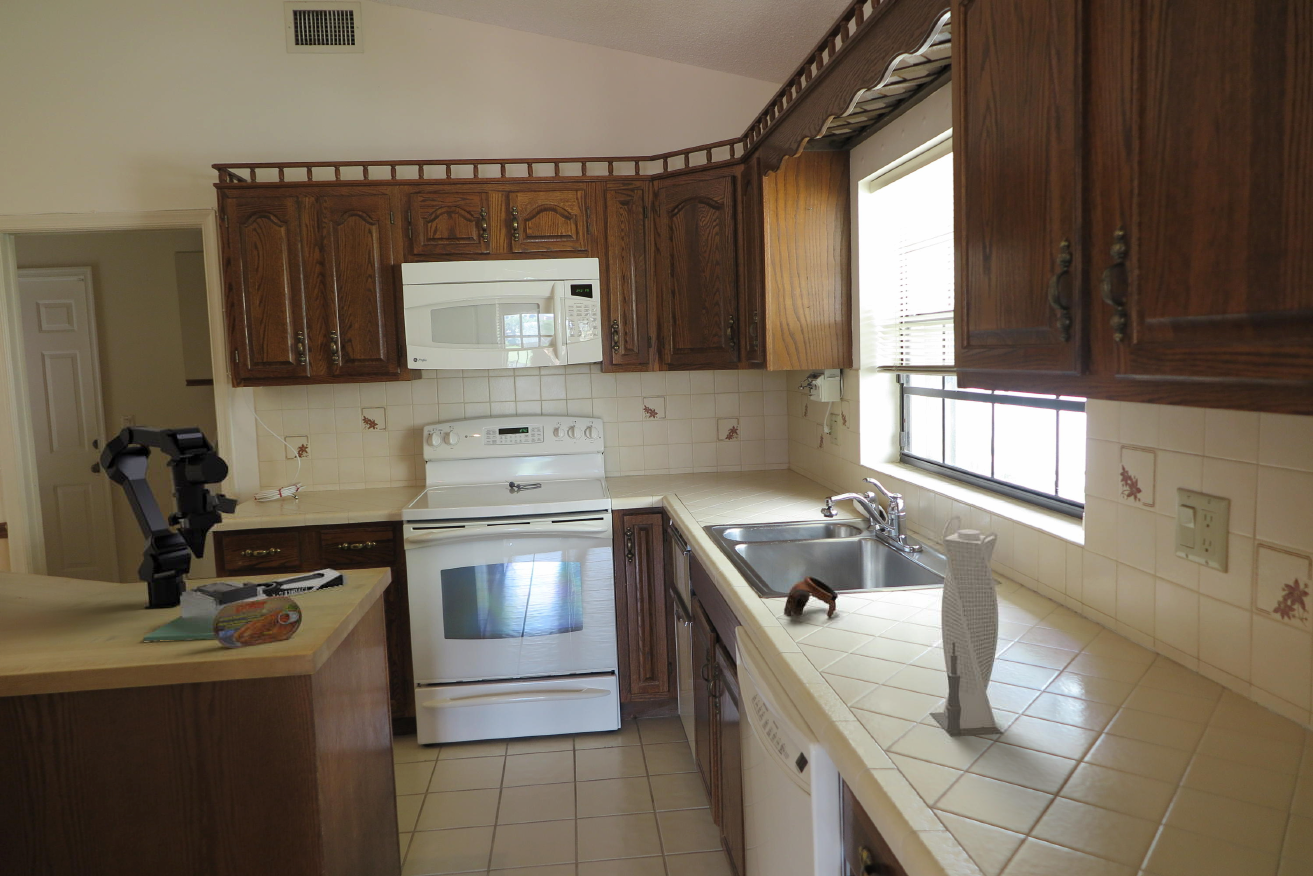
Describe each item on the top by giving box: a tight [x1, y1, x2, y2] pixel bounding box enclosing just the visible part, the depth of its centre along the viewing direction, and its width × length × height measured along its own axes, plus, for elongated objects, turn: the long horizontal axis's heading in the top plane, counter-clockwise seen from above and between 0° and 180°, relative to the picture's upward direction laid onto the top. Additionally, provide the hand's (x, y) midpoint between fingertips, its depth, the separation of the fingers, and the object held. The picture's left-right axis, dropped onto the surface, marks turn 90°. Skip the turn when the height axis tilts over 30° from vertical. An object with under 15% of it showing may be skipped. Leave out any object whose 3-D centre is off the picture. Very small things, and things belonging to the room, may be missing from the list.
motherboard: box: [143, 615, 217, 642], centre depth 167 cm, size 20×20×1 cm
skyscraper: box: [929, 515, 1004, 737], centre depth 110 cm, size 8×8×28 cm
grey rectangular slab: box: [196, 582, 236, 596], centre depth 167 cm, size 12×4×1 cm, turn 53°
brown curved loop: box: [783, 575, 839, 619], centre depth 160 cm, size 12×10×8 cm
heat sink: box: [180, 580, 266, 631], centre depth 166 cm, size 15×10×8 cm, turn 53°
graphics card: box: [256, 568, 348, 597], centre depth 190 cm, size 10×3×25 cm
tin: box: [213, 596, 303, 649], centre depth 154 cm, size 15×3×8 cm, turn 117°
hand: (199, 558), depth 175 cm, fingers closed
